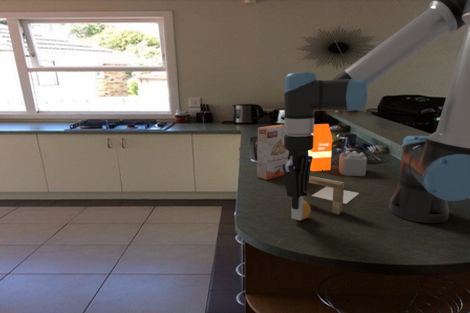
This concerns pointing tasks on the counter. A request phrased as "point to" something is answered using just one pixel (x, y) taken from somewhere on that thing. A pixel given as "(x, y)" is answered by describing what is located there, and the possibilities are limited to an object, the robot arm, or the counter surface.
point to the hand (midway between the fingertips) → (297, 218)
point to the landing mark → (328, 194)
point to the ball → (305, 209)
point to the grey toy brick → (352, 163)
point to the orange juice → (321, 148)
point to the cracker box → (271, 152)
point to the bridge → (337, 192)
